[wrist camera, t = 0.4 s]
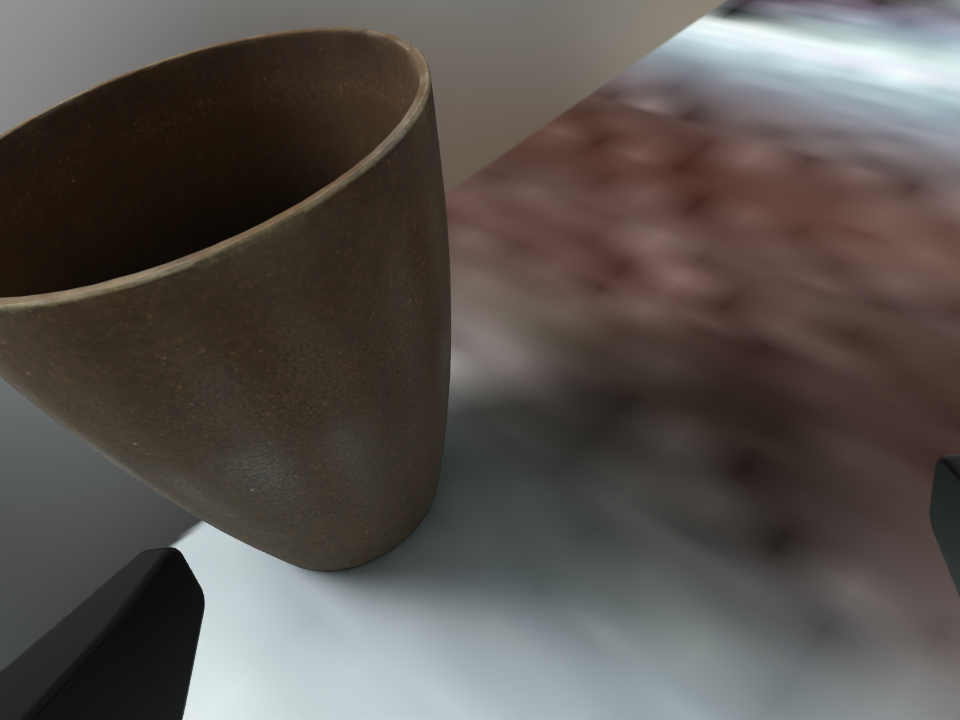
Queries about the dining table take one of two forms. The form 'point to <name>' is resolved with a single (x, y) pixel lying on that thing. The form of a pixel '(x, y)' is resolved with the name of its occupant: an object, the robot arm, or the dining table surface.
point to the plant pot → (243, 285)
